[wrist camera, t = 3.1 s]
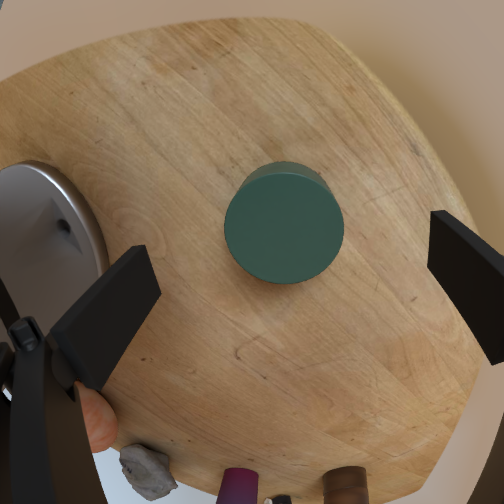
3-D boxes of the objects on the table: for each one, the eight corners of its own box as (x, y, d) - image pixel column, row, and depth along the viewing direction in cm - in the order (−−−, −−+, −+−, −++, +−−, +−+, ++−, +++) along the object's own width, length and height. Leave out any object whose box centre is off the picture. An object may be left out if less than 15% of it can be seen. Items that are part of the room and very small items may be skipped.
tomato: (43, 355, 29) (11, 398, 22) (113, 377, 28) (82, 434, 21) (73, 406, 33) (50, 446, 26) (137, 428, 32) (117, 475, 25)
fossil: (152, 433, 32) (134, 482, 25) (201, 462, 35) (190, 508, 28) (114, 440, 36) (96, 479, 29) (157, 467, 39) (144, 504, 32)
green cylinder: (222, 235, 19) (209, 261, 16) (255, 146, 17) (247, 153, 13) (309, 268, 19) (313, 298, 16) (350, 185, 17) (364, 201, 14)
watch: (262, 519, 38) (254, 505, 41) (283, 512, 41) (275, 498, 43) (277, 509, 36) (267, 493, 38) (299, 500, 38) (290, 485, 41)
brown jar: (313, 479, 35) (312, 537, 25) (337, 464, 32) (339, 530, 22) (350, 482, 35) (352, 536, 26) (375, 466, 32) (381, 527, 23)
